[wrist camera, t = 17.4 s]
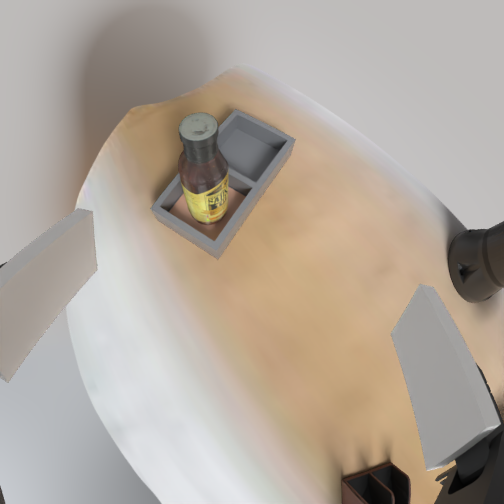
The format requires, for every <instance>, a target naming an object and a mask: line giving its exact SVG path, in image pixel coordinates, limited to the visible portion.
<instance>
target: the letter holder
mask: <svg viewBox="0 0 504 504" xmlns="http://www.w3.org/2000/svg"><path fill="white" fill-rule="evenodd" d="M410 498H411V484H410V479H409V477H408V475H406V474H405V473H404V472H403V471H401V470H400V469H399V468H398V467H396V466H395V465H394V464H393V463H391V462H390V463H388V464H385V465H383V466H380V467H377V468H374V469H372V470H369V471H366V472H363V473H360V474H357V475H354V476H351V477H348V478H345V479H342V504H410Z"/></svg>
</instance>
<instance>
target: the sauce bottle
mask: <svg viewBox="0 0 504 504" xmlns="http://www.w3.org/2000/svg"><path fill="white" fill-rule="evenodd" d="M218 134H219V130H218V122H217V121H216V119H215V118H214V117H213V116H212V115H209V114H207V113H195V114H191V115H189V116H187V117H185V118H184V119H183V120H182V122H181V123H180V125H179V135H180V139H181V141H182V142H183V146H184V151H183V152H182V154H181V155H180V158H179V164H178V169H179V174H180V180H181V184H182V188H183V191H184V195H185V199H186V202H187V206H188V210H189V212H190V214H191V216H192V217H193V218H194V219H195V220H196V221H197V222H198V223H200V224H203V225H212V224H215V223H217V222H219V221H220V220H221V219H222V218H223V217H224V216H225V214H226V212H227V209H228V182H229V180H228V174H229V166H228V162H227V161H226V159H225V158H224V156H223V155H222V153H221V152H220V150H219V148H218V144H217V137H218Z"/></svg>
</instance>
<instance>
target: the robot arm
mask: <svg viewBox="0 0 504 504" xmlns="http://www.w3.org/2000/svg"><path fill="white" fill-rule="evenodd" d="M97 270H98V269H97V260H96V250H95V239H94V225H93V211H88V210H84V209H79V208H78V209H77V210H75V211H74V212H72V213H71V214H69V215H68V216H66V217H65V218H64V219H62V220H61V221H59V222H58V223H57V224H55V225H54V226H53V227H51V228H50V229H48V230H47V231H46V232H44V233H43V234H42V235H41V236H39V237H38V238H36V239H35V240H34V241H33V242H32V243H30V244H29V245H28V246H26V247H25V248H24V249H23V250H21V251H20V252H19V253H18V254H16V255H15V256H14V257H13V258H12V259H10V260H9V261H8V262H6V263H4V264H2V265H0V378H2V379H3V380H5V381H6V382H7V383H9V381H10V380H11V378H12V377H13V375H14V374H15V372H16V371H17V370H18V368H19V367H20V365H21V364H22V362H23V361H24V360H25V358H26V357H27V355H28V354H29V353H30V351H31V350H32V348H33V347H34V346H35V345H36V343H37V342H38V341H39V339H40V338H41V337H42V335H43V334H44V333H45V331H46V330H47V329H48V328H49V326H50V325H51V324H52V322H53V321H54V320H55V319H56V317H57V316H58V315H59V314H60V313H61V311H62V310H63V309H64V308H65V306H66V305H67V304H68V303H69V302H70V300H71V299H72V298H73V297H74V296H75V295H76V293H77V292H78V291H79V290H80V289H81V288H82V286H83V285H84V284H85V283H86V282H87V281H88V280H89V279H90V277H91V276H92V275H93V274H94V273H95V272H96V271H97ZM449 270H450V275H451V279H452V282H453V284H454V286H455V288H456V290H457V292H458V293H459V294H460V296H461V297H462V298H463V299H465V300H466V301H468V302H471V303H478V302H483V301H485V300H487V299H489V298H490V297H491V296H492V295H493V294H494V293H496V292H498V291H499V290H500V289H502V288H503V287H504V221H503V222H501V223H499V224H497V225H495V226H493V227H492V228H489V229H478V230H467V231H464V232H462V233H460V234H459V235H457V236H456V237H455V238H454V240H453V242H452V244H451V247H450V250H449ZM391 336H392V339H393V342H394V345H395V348H396V352H397V355H398V358H399V361H400V364H401V367H402V371H403V374H404V378H405V381H406V384H407V388H408V392H409V395H410V399H411V403H412V406H413V410H414V414H415V418H416V423H417V427H418V431H419V436H420V440H421V445H422V450H423V455H424V460H425V465H426V471H427V470H432V469H437V468H442V467H444V466H445V465H447V464H449V463H450V462H452V461H453V460H455V461H456V465H455V466H453V467H452V468H450V469H449V470H447V471H445V472H444V473H442V474H440V475H439V476H438V477H437V478H436V480H435V481H439V480H440V479H442V478H444V477H446V476H447V478H446V479H444V480H443V481H442V482H440V484H442V485H443V487H442V489H441V491H440V493H439V495H438V497H437V499H436V501H435V503H434V504H504V423H503V420H502V417H501V415H500V412H499V410H498V407H497V404H496V402H495V400H494V397H493V395H492V393H490V392H491V390H490V388H489V385H488V384H487V381H486V379H485V376H484V374H483V372H482V370H481V369H480V368H479V366H478V365H477V364H476V363H475V361H474V359H473V357H472V355H471V353H470V351H469V349H468V347H467V345H466V343H465V341H464V339H463V337H462V335H461V334H460V332H459V330H458V328H457V326H456V324H455V323H454V321H453V319H452V317H451V315H450V314H449V312H448V310H447V309H446V307H445V305H444V303H443V302H442V300H441V298H440V297H439V295H438V293H437V292H436V290H435V289H434V287H431V286H427V285H423V284H419V286H418V288H417V290H416V292H415V293H414V295H413V297H412V299H411V301H410V302H409V304H408V306H407V307H406V309H405V311H404V313H403V314H402V316H401V318H400V319H399V321H398V323H397V324H396V326H395V327H394V329H393V331H392V332H391ZM0 504H5V501H4V497H3V494H2V490H1V487H0Z"/></svg>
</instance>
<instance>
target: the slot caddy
mask: <svg viewBox="0 0 504 504" xmlns="http://www.w3.org/2000/svg"><path fill="white" fill-rule="evenodd" d="M218 130H219V134H218V137H217V144H218V148H219V150H220V152H221V153H222V155H223V156H224V158H225V159H226V161H227V162H228V166H229V174H228V180H229V182H228V209H227V212H226V214H225V216H224V217H223V218H222V219H221V220H220V221H219V222H217V223H215V224H212V225H203V224H200V223H198V222H197V221H196V220H195V219H194V218H193V217H192V216H191V214H190V212H189V210H188V206H187V202H186V199H185V195H184V191H183V188H182V184H181V180H180V174H179V173H178V174H177V176H176V177H175V178H174V179H173V180H172V182H171V183H170V184H169V185H168V187H167V188H166V189H165V190H164V192H163V193H162V194H161V195H160V197H159V198H158V199H157V201H156V202H155V203H154V205H153V206H152V207H151V208H150V209H151V210H152V212H153V213H154V215H155V216H156V218H157V220H158V221H160V222H161V223H163V224H164V225H166V226H167V227H169V228H170V229H172V230H173V231H175V232H176V233H178V234H179V235H181V236H183V237H184V238H186V239H187V240H189V241H190V242H192V243H193V244H195V245H196V246H198V247H200V248H201V249H203V250H204V251H206V252H207V253H209V254H210V255H212V256H214V257H215V258H217V259H219V258H220V256H221V255H222V253H223V252H224V250H225V249H226V247H227V246H228V245H229V243H230V242H231V240H232V239H233V237H234V236H235V234H236V233H237V231H238V230H239V228H240V227H241V226H242V224H243V223H244V221H245V220H246V218H247V217H248V215H249V214H250V212H251V211H252V210H253V208H254V207H255V205H256V204H257V202H258V201H259V199H260V198H261V197H262V195H263V194H264V192H265V191H266V189H267V188H268V187H269V185H270V184H271V182H272V181H273V179H274V178H275V177H276V175H277V174H278V172H279V171H280V170H281V168H282V167H283V165H284V164H285V162H286V161H287V160H288V158H289V157H290V155H291V152H292V149H293V146H294V143H295V140H296V139H294V138H292V137H290V136H289V135H287V134H285V133H283V132H281V131H279V130H277V129H275V128H273V127H271V126H269V125H267V124H265V123H263V122H261V121H259V120H257V119H255V118H253V117H251V116H249V115H247V114H245V113H243V112H241V111H239V110H236V109H235V110H234V111H233V112H232V113H231V115H230V116H229V117H228V118H227V119H226V120H225V121H224V122H223V123H222V124H221V125H220V126H219V127H218Z"/></svg>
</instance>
